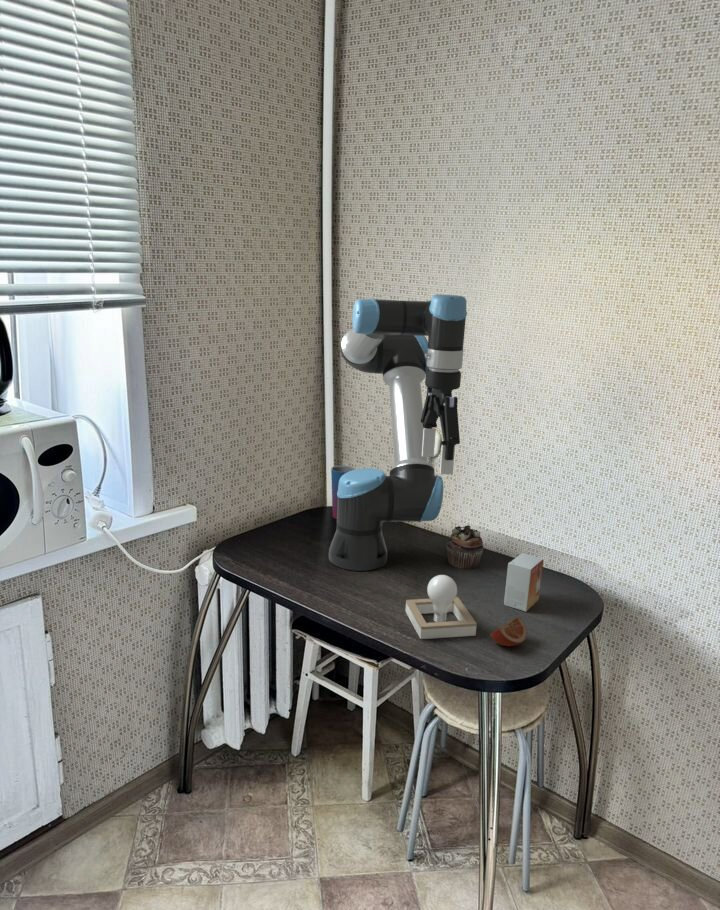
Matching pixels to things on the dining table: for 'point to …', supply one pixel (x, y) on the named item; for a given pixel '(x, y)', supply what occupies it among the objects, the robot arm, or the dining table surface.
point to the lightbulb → (441, 595)
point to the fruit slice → (510, 633)
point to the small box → (523, 582)
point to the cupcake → (464, 548)
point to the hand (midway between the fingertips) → (436, 464)
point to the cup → (336, 475)
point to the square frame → (440, 629)
